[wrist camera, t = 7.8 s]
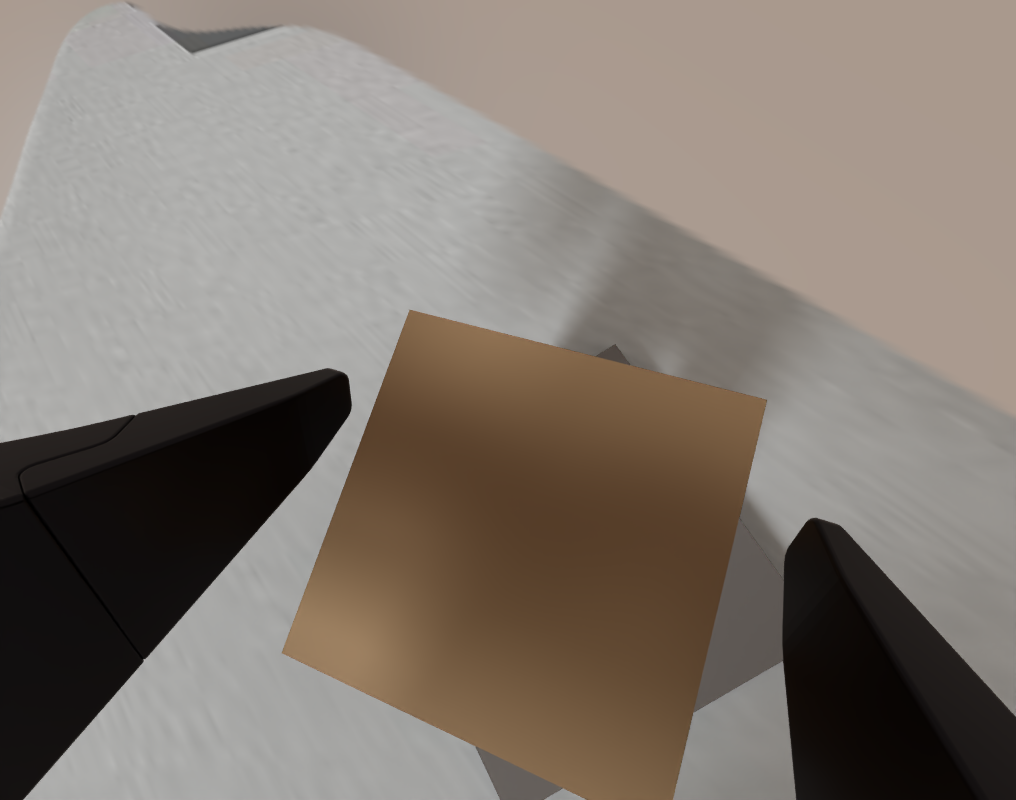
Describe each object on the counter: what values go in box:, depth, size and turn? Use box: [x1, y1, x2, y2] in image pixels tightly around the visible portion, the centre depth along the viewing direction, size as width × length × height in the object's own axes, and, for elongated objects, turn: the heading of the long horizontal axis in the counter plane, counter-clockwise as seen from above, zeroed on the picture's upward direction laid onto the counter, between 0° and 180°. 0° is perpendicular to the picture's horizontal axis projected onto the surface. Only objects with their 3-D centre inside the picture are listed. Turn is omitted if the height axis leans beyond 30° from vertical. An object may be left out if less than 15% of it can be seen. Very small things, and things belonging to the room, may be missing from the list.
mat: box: [475, 344, 784, 800], centre depth 16 cm, size 11×11×1 cm
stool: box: [282, 310, 767, 800], centre depth 11 cm, size 6×6×9 cm
